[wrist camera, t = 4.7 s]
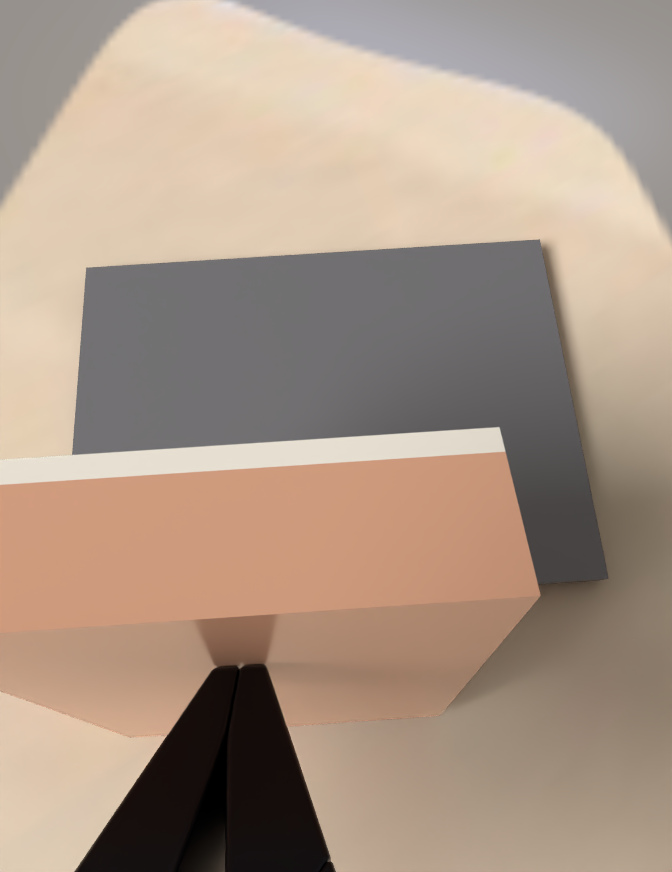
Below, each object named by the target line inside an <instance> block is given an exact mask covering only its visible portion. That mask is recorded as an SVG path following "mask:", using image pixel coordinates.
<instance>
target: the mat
mask: <svg viewBox="0 0 672 872" xmlns="http://www.w3.org/2000/svg"><path fill="white" fill-rule="evenodd" d="M494 427H500V431H501V435H502V439H503V444H504V448H505V452H506V456H507V460H508V464H509V468H510V472H511V476H512V480H513V484H514V489H515V493H516V497H517V501H518V505H519V509H520V513H521V517H522V521H523V525H524V529H525V534H526V538H527V542H528V546H529V550H530V554H531V558H532V562H533V566H534V570H535V574H536V579H537V583H538V584H552V583H567V582H581V581H596V580H603V579H607V578H608V574H607V569H606V564H605V559H604V554H603V549H602V544H601V539H600V534H599V529H598V524H597V520H596V515H595V510H594V505H593V500H592V495H591V490H590V485H589V480H588V475H587V470H586V465H585V460H584V455H583V450H582V446H581V441H580V436H579V431H578V426H577V421H576V416H575V411H574V406H573V401H572V396H571V391H570V386H569V381H568V377H567V372H566V367H565V362H564V357H563V352H562V347H561V342H560V337H559V332H558V327H557V322H556V317H555V312H554V308H553V303H552V298H551V293H550V288H549V283H548V278H547V273H546V268H545V263H544V258H543V253H542V248H541V243H540V240H526V241H510V242H494V243H478V244H462V245H446V246H430V247H414V248H398V249H382V250H365V251H349V252H333V253H317V254H301V255H285V256H269V257H253V258H237V259H221V260H205V261H188V262H172V263H156V264H140V265H124V266H108V267H92V268H86V279H85V292H84V306H83V319H82V332H81V345H80V359H79V372H78V385H77V398H76V412H75V425H74V438H73V452H72V455H80V454H96V453H111V452H126V451H141V450H157V449H172V448H187V447H203V446H218V445H233V444H249V443H264V442H279V441H295V440H310V439H325V438H340V437H356V436H371V435H386V434H402V433H417V432H432V431H448V430H463V429H478V428H494Z"/></svg>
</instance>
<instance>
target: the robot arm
mask: <svg viewBox="0 0 672 872" xmlns="http://www.w3.org/2000/svg"><path fill="white" fill-rule="evenodd" d="M75 872H336V871H335V868H334V865H333V863H332V862H331V857H330V854H329V851H328V848H327V845H326V842H325V839H324V836H323V833H322V830H321V827H320V824H319V821H318V818H317V815H316V812H315V809H314V806H313V803H312V800H311V797H310V794H309V791H308V788H307V785H306V782H305V779H304V776H303V773H302V770H301V767H300V764H299V761H298V758H297V755H296V752H295V749H294V746H293V743H292V740H291V737H290V734H289V731H288V728H287V725H286V722H285V719H284V716H283V713H282V710H281V707H280V704H279V701H278V698H277V695H276V692H275V689H274V686H273V683H272V680H271V677H270V674H269V671H268V669H267V666H266V665H264V664H256V665H244V666H242V667H241V669H240V668H239V667H237V666H227V667H216V668H214V669H213V670H212V671H211V672H210V673H209V675H208V676H207V678H206V679H205V681H204V682H203V684H202V685H201V687H200V688H199V690H198V691H197V693H196V694H195V695H194V697H193V698H192V700H191V701H190V703H189V704H188V706H187V707H186V709H185V710H184V712H183V713H182V715H181V716H180V718H179V719H178V720H177V722H176V723H175V725H174V726H173V728H172V729H171V731H170V732H169V734H168V735H167V737H166V738H165V740H164V741H163V743H162V744H161V745H160V747H159V748H158V750H157V751H156V753H155V754H154V756H153V757H152V759H151V760H150V762H149V763H148V765H147V766H146V767H145V769H144V770H143V772H142V773H141V775H140V776H139V778H138V779H137V781H136V782H135V784H134V785H133V787H132V788H131V790H130V791H129V792H128V794H127V795H126V797H125V798H124V800H123V801H122V803H121V804H120V806H119V807H118V809H117V810H116V812H115V813H114V815H113V816H112V817H111V819H110V820H109V822H108V823H107V825H106V826H105V828H104V829H103V831H102V832H101V834H100V835H99V837H98V838H97V839H96V841H95V842H94V844H93V845H92V847H91V848H90V850H89V851H88V853H87V854H86V856H85V857H84V859H83V860H82V862H81V863H80V864H79V866H78V867H77V869H76V870H75Z"/></svg>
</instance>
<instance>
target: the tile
mask: <svg viewBox="0 0 672 872" xmlns="http://www.w3.org/2000/svg"><path fill="white" fill-rule="evenodd" d="M540 596H541V595H540V591H539V587H538V583H537V579H536V574H535V570H534V566H533V562H532V558H531V554H530V550H529V546H528V542H527V538H526V534H525V529H524V525H523V521H522V517H521V513H520V509H519V505H518V501H517V497H516V493H515V489H514V484H513V480H512V476H511V472H510V468H509V464H508V460H507V456H506V452H505V448H504V444H503V439H502V435H501V431H500V427H494V428H478V429H463V430H448V431H432V432H417V433H402V434H386V435H371V436H356V437H340V438H325V439H310V440H295V441H279V442H264V443H249V444H233V445H218V446H203V447H187V448H172V449H157V450H141V451H126V452H111V453H96V454H80V455H65V456H50V457H34V458H19V459H4V460H0V691H1V692H4V693H7V694H10V695H12V696H15V697H18V698H21V699H24V700H26V701H29V702H32V703H35V704H38V705H40V706H43V707H46V708H49V709H52V710H54V711H57V712H60V713H63V714H66V715H68V716H71V717H74V718H77V719H80V720H82V721H85V722H88V723H91V724H94V725H96V726H99V727H102V728H105V729H108V730H110V731H113V732H116V733H119V734H122V735H124V736H127V737H144V736H158V735H168V734H169V732H170V731H171V729H172V728H173V726H174V725H175V723H176V722H177V720H178V719H179V718H180V716H181V715H182V713H183V712H184V710H185V709H186V707H187V706H188V704H189V703H190V701H191V700H192V698H193V697H194V695H195V694H196V693H197V691H198V690H199V688H200V687H201V685H202V684H203V682H204V681H205V679H206V678H207V676H208V675H209V673H210V672H211V671H212V670H213V669H214V668H216V667H227V666H237V667H239V668H240V669H241V667H242V666H244V665H256V664H264V665H266V666H267V669H268V671H269V674H270V677H271V680H272V683H273V686H274V689H275V692H276V695H277V698H278V701H279V704H280V707H281V710H282V713H283V716H284V719H285V722H286V725H287V726H300V725H314V724H328V723H343V722H357V721H371V720H385V719H399V718H414V717H428V716H440V715H441V714H442V713H443V712H444V710H445V709H446V708H447V707H448V706H449V704H450V703H451V702H452V701H453V700H454V699H455V697H456V696H457V695H458V694H459V693H460V691H461V690H462V689H463V688H464V687H465V685H466V684H467V683H468V682H469V681H470V679H471V678H472V677H473V676H474V675H475V674H476V672H477V671H478V670H479V669H480V668H481V666H482V665H483V664H484V663H485V662H486V660H487V659H488V658H489V657H490V656H491V655H492V653H493V652H494V651H495V650H496V649H497V647H498V646H499V645H500V644H501V643H502V641H503V640H504V639H505V638H506V637H507V636H508V634H509V633H510V632H511V631H512V630H513V628H514V627H515V626H516V625H517V624H518V622H519V621H520V620H521V619H522V618H523V617H524V615H525V614H526V613H527V612H528V611H529V609H530V608H531V607H532V606H533V605H534V603H535V602H536V601H537V600H538V599H539V598H540Z"/></svg>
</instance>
